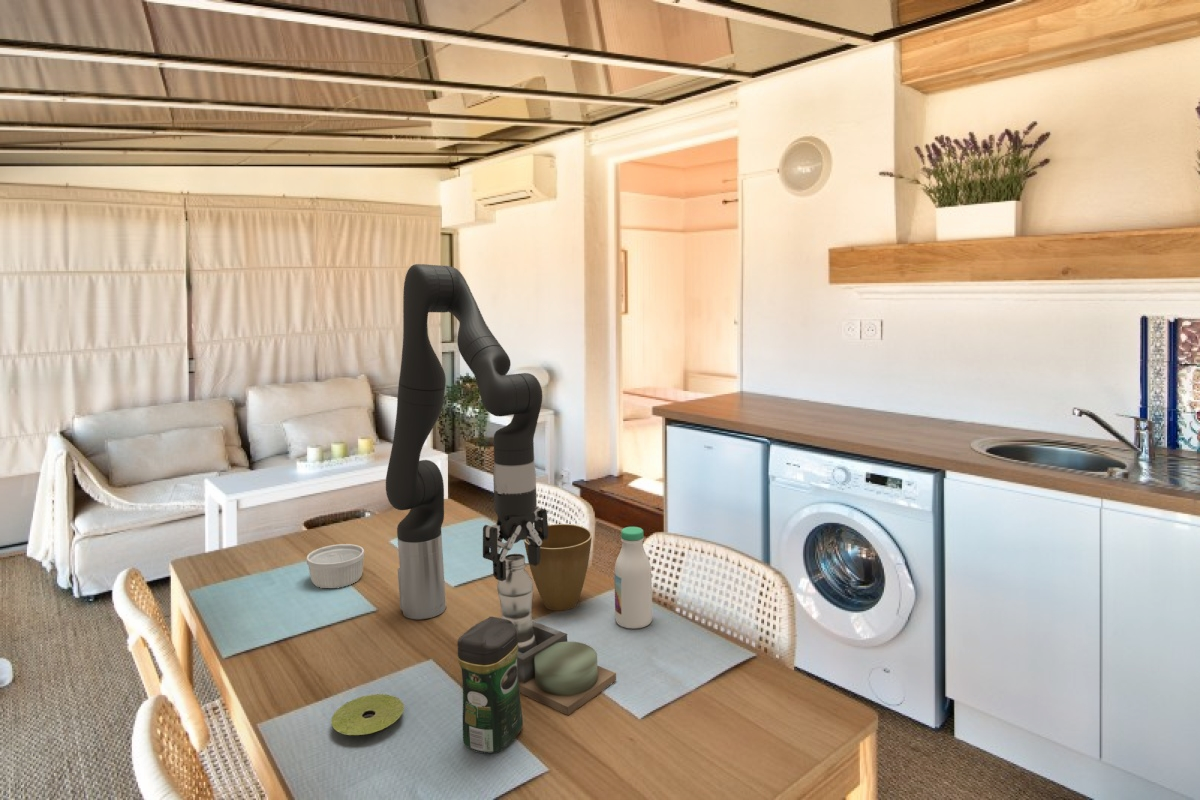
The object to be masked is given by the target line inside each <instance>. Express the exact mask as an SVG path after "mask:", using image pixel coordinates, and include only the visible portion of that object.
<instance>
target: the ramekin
mask: <svg viewBox="0 0 1200 800" xmlns="http://www.w3.org/2000/svg"><path fill="white" fill-rule="evenodd" d="M364 558H365V550H364V548H363V547H362V546H360V545H358V544H357V545H356V544H351V543H339V544H332V545H326V546H323V547H320V548H317V549H314V550H313V551H310V553H308V554H307V556H306V565H307V567H308V571H309V576H310V580H311V582H312V584H313V585H314V586H316V588H319V587H320V588H319V589H322V588H337V589H339V588H338V587H342V588H344V587H343V586H346V587H348V586H347V585H349V586H352V585H354V584H355V582H356V583H357V582H358V581H359V580H360V579H361V578H362V575H363V573H364V571H363V569H364ZM353 583H354V584H353ZM351 584H352V585H351Z"/></svg>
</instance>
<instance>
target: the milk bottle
mask: <svg viewBox="0 0 1200 800" xmlns="http://www.w3.org/2000/svg"><path fill="white" fill-rule="evenodd" d="M620 535H621V536H620V537H621V539H620V540H621V542H622V545H621V549H620V551H619V553H618V556H617V558H616V561H615V564H614V613H615V615H614V617H615V622H616V624H618V625H619V626H620V627H623V628H625V629H633V630H634V629H642V628H646V627H647V626H649V625H650V624H651V622H652V620H653V592H652V591H653V587H652V584H653V583H652V580H653V579H652V568H651V567H652V566H651V563H650V562H651V561H650V559H649V557H648V555H647V553H646V551H645V547H644V543H643V541H644V535H645V534H644V529H642V527H638V526H627V527H624V528H622V529H621V531H620Z"/></svg>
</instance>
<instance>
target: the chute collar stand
mask: <svg viewBox="0 0 1200 800" xmlns="http://www.w3.org/2000/svg"><path fill="white" fill-rule="evenodd" d="M532 625H533V632H534V636H535V640H536V646H535V647H534V648H532V649H530V650H528V651H527V652H525V653H521V652H518V653H517V673H518V683H519V693H520V694H521V695H524V696H526V697H528V698H530V699H533V700H535V701H537V702H538V703H541V704H543V705H545V706H547V707H549V708H552V709H554V710H556V711H558V712H561V713H562V714H564V715H567V716H570V715H571V714H572V713H573V712H575V711H577V710H578V709H579V708H581V707H582V706H583V705H585V704H586V703H587V702H589V701H590V700H592V699H593V698H594V697H596V696H597V695H599V694H600V693H601V692H603V691H605V688H606V687H607V686H608V687H610V686H611V685H612V684H614V683H615V682H616V681H617V672H615V671H612V670H609V669H608V668H607V669H606V668H605V667H602V666H599V665H598V653H597V651H596V649H594V648H593V647H592V646H591V645H588V644H586V643H583V642H580V641H579V642H578V641H568V633H566V632H563V631H561V630H557V629H555V628H552V627H550V626H547V625H544V624H542V623H539V622H537V621H534V620H532ZM615 680H616V681H615ZM614 681H615V682H614ZM613 682H614V683H613ZM611 683H612V684H611ZM610 684H611V685H610ZM609 685H610V686H609ZM608 687H607V688H608ZM607 688H606V689H607ZM602 690H603V691H602Z"/></svg>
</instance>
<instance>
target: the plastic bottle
mask: <svg viewBox="0 0 1200 800" xmlns="http://www.w3.org/2000/svg"><path fill="white" fill-rule="evenodd" d="M504 560H505V561H506V580H504V581H500V580H498V581H497V584H496V585H497V586H496V587H497V592H498V599H499V604H500V611H501V618H502V619H507V620H510V621H511V622H512V623H513V624H514V626H515V627H516V631H517V637H518V652H521V653H525V652H527V651H528V650H530V649H532V648H534V647H535V646H536V640H535V636H534V632H533V625H532V621H533V618H532V616H533V614H532V612H533V611H532V610H533V608H532V607H533V605H532V603H533V595H534V594H533V593H534V580H533V577H532V576H530V573H528V571H527V570H526V569H525V568H526V557H525V555H524V554H522V553H510V554H507V555H506V557H505V559H504Z"/></svg>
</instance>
